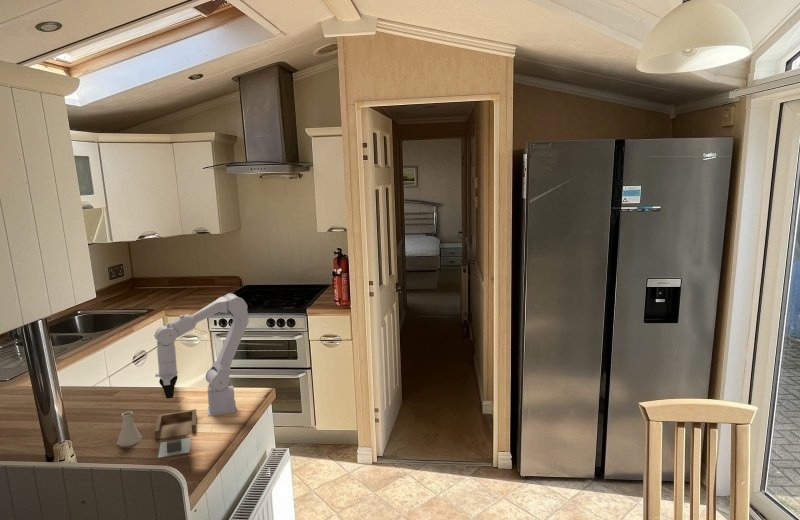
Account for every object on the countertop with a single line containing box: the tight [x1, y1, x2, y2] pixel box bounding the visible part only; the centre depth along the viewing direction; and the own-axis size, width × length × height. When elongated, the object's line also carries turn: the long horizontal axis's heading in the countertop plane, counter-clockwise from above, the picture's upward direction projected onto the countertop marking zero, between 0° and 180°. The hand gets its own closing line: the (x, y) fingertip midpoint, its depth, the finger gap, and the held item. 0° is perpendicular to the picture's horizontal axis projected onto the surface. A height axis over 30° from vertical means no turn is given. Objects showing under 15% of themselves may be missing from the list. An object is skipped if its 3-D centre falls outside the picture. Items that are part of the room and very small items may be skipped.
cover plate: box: [157, 437, 191, 459], centre depth 158 cm, size 9×10×4 cm
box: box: [154, 408, 198, 440], centre depth 171 cm, size 12×13×3 cm
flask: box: [115, 411, 143, 448], centre depth 161 cm, size 7×7×10 cm
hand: (169, 397), depth 174 cm, fingers closed
